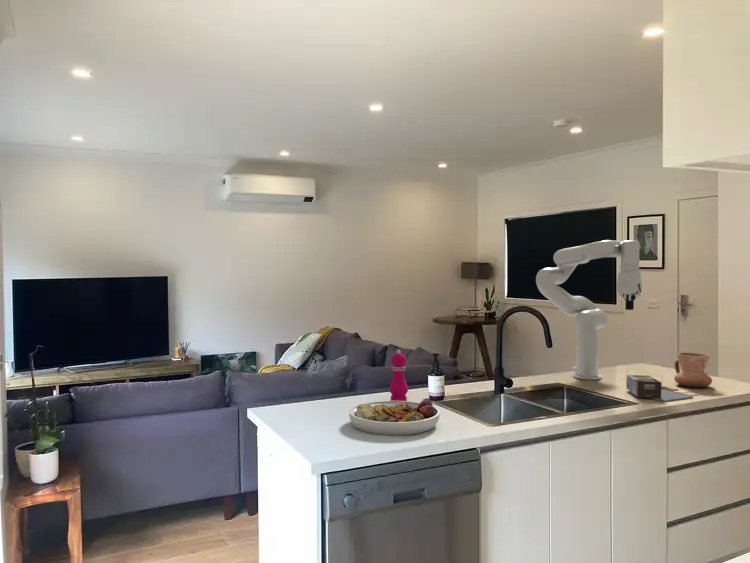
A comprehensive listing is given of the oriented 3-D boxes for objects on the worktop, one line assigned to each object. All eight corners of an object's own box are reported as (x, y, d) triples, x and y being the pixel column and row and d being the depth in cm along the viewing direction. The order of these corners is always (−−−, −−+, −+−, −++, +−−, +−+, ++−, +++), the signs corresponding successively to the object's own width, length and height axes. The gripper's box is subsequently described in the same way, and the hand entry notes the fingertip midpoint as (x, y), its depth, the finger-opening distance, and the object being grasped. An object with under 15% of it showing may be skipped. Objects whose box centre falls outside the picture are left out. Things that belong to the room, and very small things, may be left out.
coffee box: (649, 374, 250) (662, 382, 234) (648, 390, 251) (662, 398, 235) (626, 374, 252) (638, 381, 236) (625, 389, 252) (637, 397, 236)
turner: (648, 387, 259) (648, 384, 259) (657, 386, 261) (657, 383, 261) (689, 396, 241) (689, 393, 241) (698, 395, 243) (698, 392, 243)
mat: (627, 392, 247) (627, 391, 247) (655, 389, 254) (655, 388, 254) (664, 402, 231) (664, 400, 231) (693, 398, 238) (693, 396, 238)
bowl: (370, 443, 180) (370, 417, 179) (336, 419, 207) (336, 397, 207) (456, 432, 192) (456, 407, 191) (413, 411, 219) (413, 389, 219)
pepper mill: (410, 399, 236) (410, 349, 236) (403, 403, 230) (403, 351, 229) (393, 398, 239) (393, 348, 239) (386, 401, 233) (386, 350, 232)
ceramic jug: (722, 389, 255) (722, 355, 255) (695, 390, 251) (695, 356, 251) (689, 382, 272) (689, 350, 272) (663, 383, 268) (663, 351, 268)
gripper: (610, 268, 271) (610, 308, 271) (637, 268, 257) (636, 311, 257) (622, 268, 274) (622, 308, 274) (650, 268, 260) (649, 310, 261)
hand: (629, 309), depth 266 cm, fingers closed
